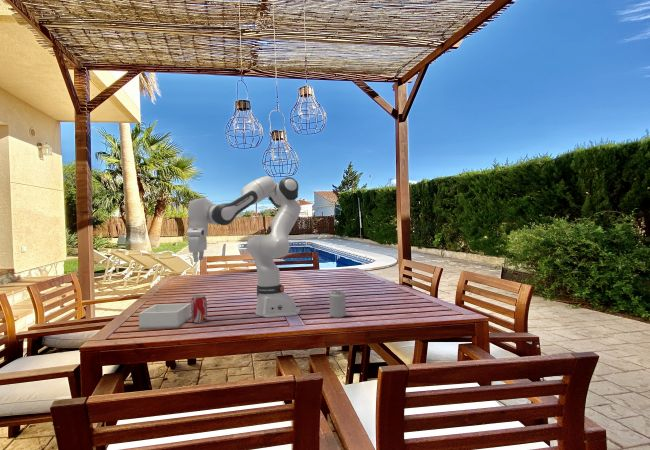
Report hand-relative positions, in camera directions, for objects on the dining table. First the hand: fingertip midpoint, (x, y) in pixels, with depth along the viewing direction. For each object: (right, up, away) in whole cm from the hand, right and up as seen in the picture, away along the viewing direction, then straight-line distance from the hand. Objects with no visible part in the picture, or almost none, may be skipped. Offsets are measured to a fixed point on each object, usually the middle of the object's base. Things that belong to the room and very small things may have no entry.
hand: (198, 260), depth 177 cm
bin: (-14, -29, -3) cm, 32 cm away
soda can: (+1, -29, -1) cm, 29 cm away
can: (+66, -27, +3) cm, 71 cm away
